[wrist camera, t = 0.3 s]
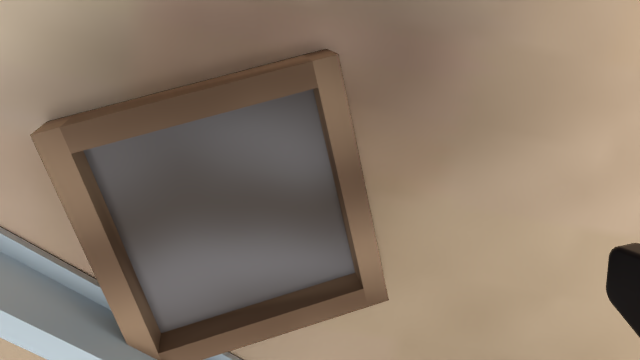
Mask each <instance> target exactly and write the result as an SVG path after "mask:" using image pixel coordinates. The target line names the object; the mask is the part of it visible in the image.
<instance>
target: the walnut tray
mask: <svg viewBox="0 0 640 360" xmlns="http://www.w3.org/2000/svg"><path fill="white" fill-rule="evenodd" d="M30 136H31V138H32V140H33V142H34V144H35V147H36V149H37V151H38V153H39V155H40V157H41V160H42V162H43V164H44V166H45V168H46V170H47V173H48V175H49V177H50V179H51V181H52V183H53V185H54V188H55V190H56V192H57V194H58V196H59V198H60V201H61V203H62V205H63V207H64V209H65V211H66V214H67V216H68V218H69V220H70V222H71V224H72V227H73V229H74V231H75V233H76V235H77V237H78V240H79V242H80V244H81V246H82V248H83V250H84V253H85V255H86V257H87V259H88V261H89V263H90V265H91V268H92V270H93V272H94V274H95V276H96V278H97V281H98V283H99V285H100V287H101V289H102V291H103V294H104V296H105V298H106V300H107V302H108V304H109V307H110V309H111V311H112V313H113V315H114V317H115V320H116V322H117V324H118V326H119V328H120V330H121V332H122V335H123V337H124V339H125V341H126V343H127V345H129V346H131V347H133V348H135V349H137V350H139V351H141V352H143V353H145V354H147V355H149V356H151V357H153V358H155V359H157V360H204V359H207V358H210V357H213V356H216V355H219V354H222V353H225V352H229V351H232V350H235V349H238V348H241V347H244V346H247V345H250V344H254V343H257V342H260V341H263V340H266V339H269V338H272V337H275V336H278V335H282V334H285V333H288V332H291V331H294V330H297V329H300V328H303V327H306V326H310V325H313V324H316V323H319V322H322V321H325V320H328V319H331V318H334V317H338V316H341V315H344V314H347V313H350V312H353V311H356V310H359V309H363V308H366V307H369V306H372V305H375V304H378V303H381V302H384V301H387V300H389V299H388V294H387V289H386V285H385V280H384V275H383V270H382V265H381V260H380V255H379V250H378V246H377V241H376V236H375V231H374V226H373V221H372V216H371V211H370V207H369V202H368V197H367V192H366V187H365V182H364V177H363V173H362V168H361V163H360V158H359V153H358V148H357V143H356V138H355V134H354V129H353V124H352V119H351V114H350V109H349V104H348V99H347V95H346V90H345V85H344V80H343V75H342V70H341V65H340V60H339V56H338V54H337V53H334V52H332V51H330V50H328V49H324V50H320V51H317V52H313V53H309V54H305V55H301V56H297V57H294V58H290V59H286V60H282V61H278V62H274V63H270V64H267V65H263V66H259V67H255V68H251V69H247V70H244V71H240V72H236V73H232V74H228V75H224V76H221V77H217V78H213V79H209V80H205V81H201V82H197V83H194V84H190V85H186V86H182V87H178V88H174V89H171V90H167V91H163V92H159V93H155V94H151V95H148V96H144V97H140V98H136V99H132V100H128V101H124V102H121V103H117V104H113V105H109V106H105V107H101V108H98V109H94V110H90V111H86V112H82V113H78V114H75V115H71V116H67V117H63V118H59V119H55V120H51V121H48V122H46V123H45V124H43V125H42V126H41V127H40V128H38V129H37V130H36V131H35V132H33V133H32V134H31V135H30Z"/></svg>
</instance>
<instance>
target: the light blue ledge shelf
mask: <svg viewBox="0 0 640 360" xmlns="http://www.w3.org/2000/svg"><path fill="white" fill-rule="evenodd" d="M0 338H2V339H4V340H7V341H9V342H11V343H13V344H15V345H17V346H19V347H22V348H24V349H26V350H28V351H30V352H32V353H34V354H37V355H39V356H41V357H43V358H45V359H47V360H157V359H155V358H153V357H151V356H149V355H147V354H145V353H143V352H141V351H139V350H137V349H135V348H133V347H131V346H129V345H127V343H126V341H125V339H124V337H123V335H122V332H121V330H120V328H119V326H118V324H117V322H116V320H115V317H114V315H113V313H112V311H111V309H110V307H109V304H108V302H107V300H106V298H105V296H104V294H103V291H102V289H101V287H100V285H99V283H98V281H97V280H96V279H94V278H92V277H91V276H89V275H87V274H85V273H83V272H81V271H80V270H78V269H76V268H74V267H72V266H71V265H69V264H67V263H65V262H63V261H61V260H60V259H58V258H56V257H54V256H52V255H51V254H49V253H47V252H45V251H43V250H41V249H40V248H38V247H36V246H34V245H32V244H30V243H29V242H27V241H25V240H23V239H21V238H20V237H18V236H16V235H14V234H12V233H10V232H9V231H7V230H5V229H3V228H1V227H0ZM204 360H242V359H240V358H238V357H236V356H234V355H233V354H231V353H229V352H225V353H222V354H219V355H216V356H213V357H210V358H207V359H204Z"/></svg>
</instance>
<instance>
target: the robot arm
mask: <svg viewBox="0 0 640 360" xmlns="http://www.w3.org/2000/svg"><path fill="white" fill-rule="evenodd" d="M606 291H607V295H608V298H609V300H610V301H611V303H612V304H613V305H614V307H615V308H616V309H617V310H618V311H619V313H620V314H621V315H622V316H623V318H624V319H625V320H626V321H627V322H628V324H629V325H630V326H631V327H632V329H633V330H634V331H635V332H636V334H637V335H638V336H639V337H640V244H639V243H632V244H627V245H623V246H618V247H615V248H614V249H612V250H611V252H610V254H609V261H608V272H607V282H606Z"/></svg>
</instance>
